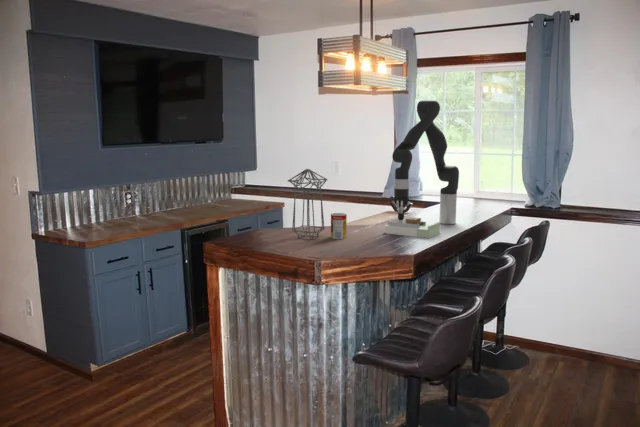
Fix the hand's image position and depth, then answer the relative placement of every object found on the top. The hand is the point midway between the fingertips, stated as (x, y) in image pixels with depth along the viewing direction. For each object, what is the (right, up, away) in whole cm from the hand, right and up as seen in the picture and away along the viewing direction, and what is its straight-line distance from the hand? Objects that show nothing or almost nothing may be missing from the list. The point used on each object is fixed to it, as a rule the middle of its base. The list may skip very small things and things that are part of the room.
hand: (400, 220), depth 292 cm
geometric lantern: (-49, -9, -15) cm, 52 cm away
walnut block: (+6, -3, -3) cm, 7 cm away
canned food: (-33, -9, -13) cm, 37 cm away
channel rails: (+3, -3, -2) cm, 4 cm away
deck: (+5, -7, -3) cm, 9 cm away
